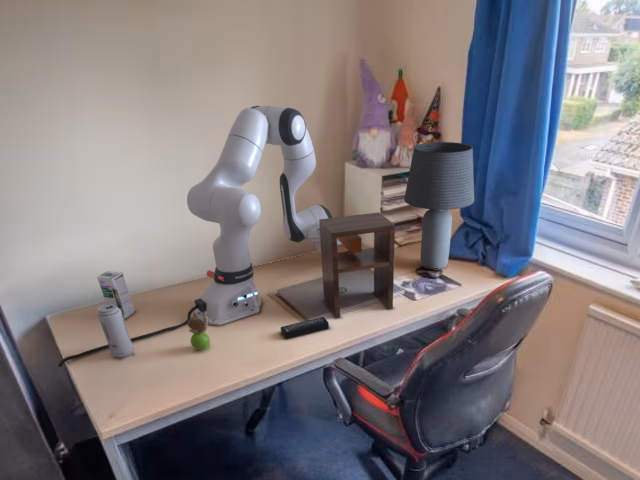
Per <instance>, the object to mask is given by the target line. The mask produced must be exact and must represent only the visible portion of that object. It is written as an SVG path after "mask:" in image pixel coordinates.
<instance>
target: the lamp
mask: <svg viewBox="0 0 640 480" xmlns="http://www.w3.org/2000/svg"><path fill="white" fill-rule="evenodd" d="M473 150H474V149H473V146H472V145H470V144H467V143H462V142H453V141H432V142H423V143H419V144H415V145H414V147H413V151H412V156H411V161H410V166H409V172H408V178H407V183H406V188H405V194H404V199H403V201H404V202H405V203H406V204H407V205H409V206H412V207H415V208H418V209H424V210H426V211H425V212H424V213H423V216H422V224H421V225H422V226H421V243H420V244H421V245H420V259H419V260H420V265H421V266H422V267H423V266H429V267H433V268H438V269H434V270H433V271H441V270H443V269H444V268H446V267H447V266H448V263H449V257H450V247H451V239H452V238H451V237H452V236H451V235H452V224H453V214H452V213H451V211H450V210H458V209H464V208H466V207H470V206H471V205H473V204H474V203H475V181H474V151H473Z"/></svg>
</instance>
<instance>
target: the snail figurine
mask: <svg viewBox="0 0 640 480" xmlns="http://www.w3.org/2000/svg"><path fill="white" fill-rule="evenodd" d="M205 315H207V312H205ZM203 320H204V322H203V321H201V320H200V319H199V318H197V317H196V316H193V317H192V316H191V318H190V319H189V320H188V323H187V327H188V328H189V329H188V331H189V332H190V333H192V335H191V337H190V344H191V346H192V348H194V349H195V350H197V351H204V350H206V349H208V348H209V346H210V344H211V340H210V339H211V338H210V336H209V335H208V333H206V331H207V329H208V325H209V324H208V317H207V316H203Z"/></svg>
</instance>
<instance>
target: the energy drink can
mask: <svg viewBox="0 0 640 480" xmlns="http://www.w3.org/2000/svg"><path fill="white" fill-rule="evenodd" d="M97 309H98V313H97V317H98V320H99V324H100V325H101V328H102V332H103V334H104V336H105V338H106V342H107V345H109V348H108V349H109V351H110V353H111V355H112V356H114V357H115V358H117V359H125V358H128V357H129V356H131V355H132V354H133V351H134V346H133V343H132V342H131V340H130V339H131V337H130V334H129V330H128V328H127V324H126V322H125V319H123V316H122V313H121V310H120V309H119V308H118V307H117V305H115V304H106V303H105V304H103V305H101V306H99V307H98V308H97Z"/></svg>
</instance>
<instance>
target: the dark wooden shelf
mask: <svg viewBox="0 0 640 480" xmlns="http://www.w3.org/2000/svg"><path fill="white" fill-rule="evenodd" d="M319 225H320V241H321V253H320V255H321V268H322V269H321V270H322V271H321V272H322V285H323V286H322V287H323V301H324V303H325V305H326V306H327V307H328V309H329V311H330V312H331V315H333V317H334V318H335V319H341V307H340V281H339V274H342V273H350V272H357V271H364V270H369V269H373V293H374V295H375V296H376V297H377V298H378V299H379V301H380V302H381V303H382V304H383V305H384V306H385V307H386V309H387V310H393V308H394V278H395V277H394V276H395V275H394V273H395V240H396V237H395V236H396V224H395V223H393V222H392V221H391V220H390V219H388V218H387V217H385V215H383V214H382V213H380V212H379V211H377V212H371V213H362V214H354V215H353V214H352V215H345V216H338V217H337V216H336V217H332V218H328V219H319ZM359 234H360V235H365V234H373V247H368V248H361V252H359V253H352V254H351V253H350V252H349V251H348V250H346V251H340V252H338V246H337V237H344V236H351V235H359ZM360 235H359V236H360Z"/></svg>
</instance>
